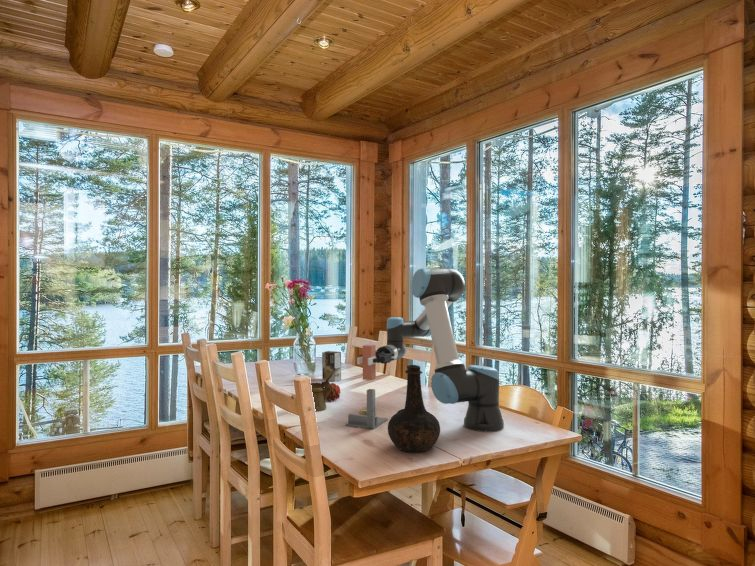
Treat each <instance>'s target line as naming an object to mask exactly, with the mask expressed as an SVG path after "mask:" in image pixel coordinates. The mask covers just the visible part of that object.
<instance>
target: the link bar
mask: <svg viewBox="0 0 755 566" xmlns="http://www.w3.org/2000/svg"><path fill="white" fill-rule="evenodd" d="M376 351H377V350H376V344H363V345H362V354H363V363H362V380H363V381H374V380H376V379H377V375H376V374H377V373H376V371H377V370H376V369H377V366H376V365H377V362H376V363H375V364H372V365H368V358H371V357H374V356H376Z"/></svg>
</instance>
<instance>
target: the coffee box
mask: <svg viewBox="0 0 755 566" xmlns="http://www.w3.org/2000/svg"><path fill="white" fill-rule="evenodd" d="M321 364H322V369H321V370H322V371H321V372H322V375H321V376H322V377H321V378H322V381H323V380H326V379H327V377H328V376H329V374H330V373H331V371H332V370H333V369H335V368H336V370H335V372H334V374H333V375H332V377H331V378H330V379H329V382H332V381H336V382H339V381H338V380H340V381H341V380H342V352H341V351H334V350H333V351H331V350H328V351H323V352H321Z"/></svg>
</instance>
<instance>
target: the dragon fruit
mask: <svg viewBox="0 0 755 566" xmlns="http://www.w3.org/2000/svg"><path fill="white" fill-rule="evenodd" d="M330 385H331V391H330V394H329V395H328V397H327V399H328V401H331V400H333V401H334V400H337V399H338V400H339V399H340V394H341V387H340V386H339V385H336V383H335V382H331V383H330ZM324 389H325V390H323V392H324V393H326V392H327V388H326V387H324ZM327 399H326V400H327Z"/></svg>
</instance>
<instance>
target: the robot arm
mask: <svg viewBox="0 0 755 566" xmlns="http://www.w3.org/2000/svg"><path fill="white" fill-rule="evenodd" d="M465 287H466V283H465V279H464V276H463V275H462V274H461V272H459V270H456V269H455V268H451V267H450V268H449V267H446V268H444V267H443V268H441V267H440V268H437V267H436V268H434V267H432V268H431V267H430V268H429V267H426V268H418V269H417V270H416V271H415V272H414V273H413V275H412V278H411V287H410V289H411V293H412V295H413V297H414V298H417V299H419V303H420V305H421V306H424V309H423V310H422V311H421V313H420V314H419V315H418V317H417V318H416V319H415V320H404V318H403V317H399V316H397V317H396V316H395V317H394V316H393V317H392V316H391V317H387V320H386V345H383V346H380V347H379V348H377V350H376V356H374V357H371V358H368V365H372V364H375V363H376V364H379V363H381V364H384V365H385V364H391V362H394V361H396V360H400V359H402V358H403V357H405V355H406V353H407V347H406V345H405V344H404V338H418V337H419V338H422V337H423V338H425V337H428V336H430V337H431V342H432V346H433V351H434V356H435V360H436V364H437V365H436V367H435V368H434V374H432V376H431V379H430V381H431V382H430V386H431V391H432V393H433V396H434V397H435V399H436V400H437V401H439V402H440V403H441V404H445V405H446V404H447V405H449V404H451V405H454V404H457V403H465V402H468V405H467V410H466V413H465V417H464V418H463V426H464V427H465V428H466V429H469V430H472V431H478V432H498V431H500V430H503V429H504V428H505V427H504V426H505V424H504V423H505V422H504V419H503V416H502V413H501V408H500V373H499V370H498V369H496V368H494V367H490V366H484V365H477V364H469V365H468V367H467V370H466V366H465V363H463V361H461V360H460V358H459V357H460V356H459V353H458V349H457V343H456V340H455V337H454V331H453V326H452V323H451V317H450V314H449V310H448V308H449V307H450V306H451V305H452V304H453V303H455V302H458V301H459V299H460V298H461V297H462V296H463V295H464V292H465ZM356 359H357V360H356V363H357V365H363V353H362V354H359V355H358V357H356ZM497 430H498V431H497Z"/></svg>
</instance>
